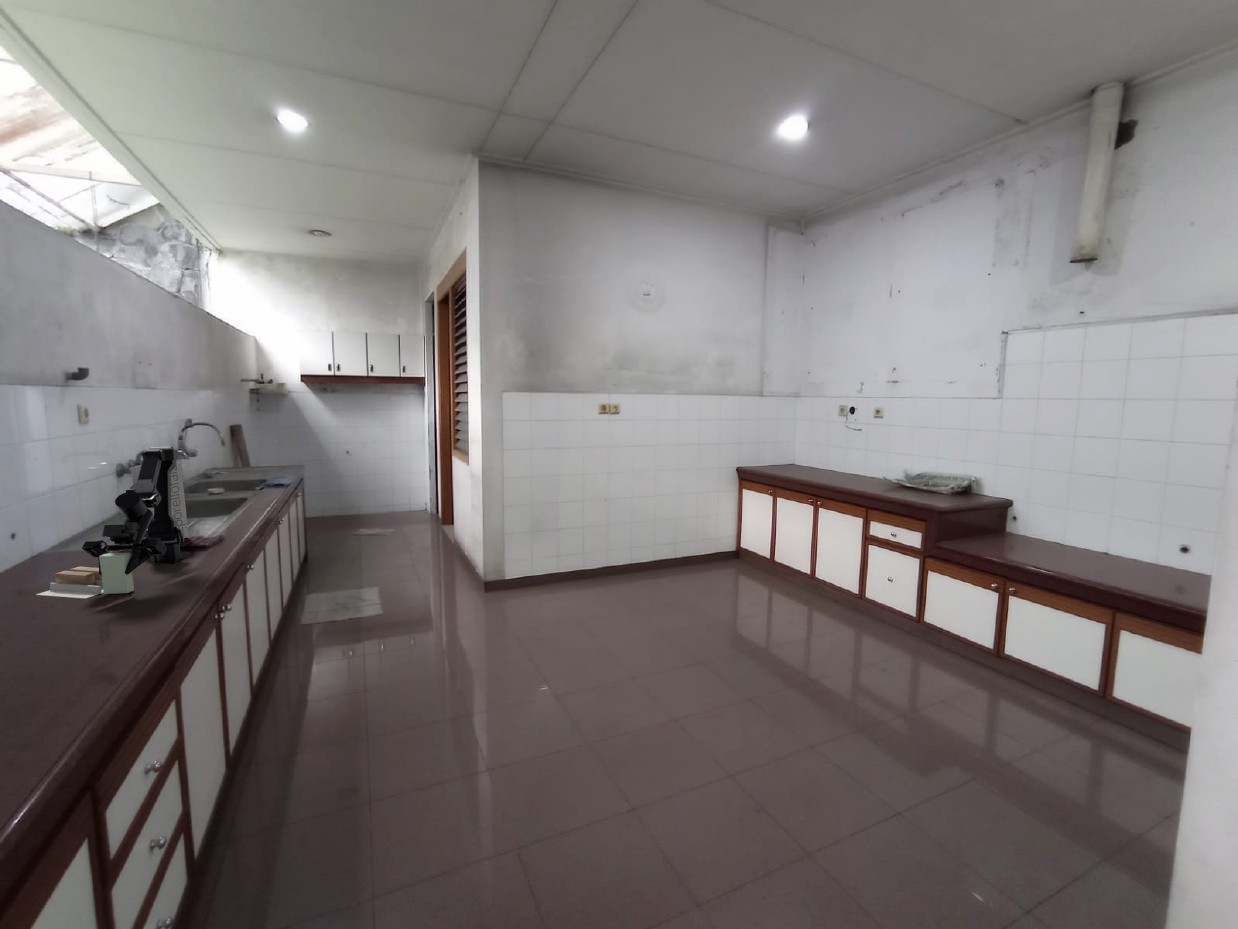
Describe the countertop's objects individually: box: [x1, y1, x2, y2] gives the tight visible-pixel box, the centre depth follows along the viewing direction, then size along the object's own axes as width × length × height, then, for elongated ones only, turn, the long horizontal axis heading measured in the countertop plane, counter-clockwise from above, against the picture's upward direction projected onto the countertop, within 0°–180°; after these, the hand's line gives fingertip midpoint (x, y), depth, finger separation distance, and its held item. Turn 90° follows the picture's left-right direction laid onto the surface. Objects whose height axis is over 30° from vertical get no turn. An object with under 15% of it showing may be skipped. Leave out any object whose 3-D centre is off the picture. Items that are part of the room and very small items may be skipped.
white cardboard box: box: [130, 462, 190, 539], centre depth 209 cm, size 14×6×30 cm, turn 168°
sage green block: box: [99, 552, 135, 595], centre depth 157 cm, size 2×6×11 cm, turn 100°
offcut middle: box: [54, 570, 95, 586], centre depth 162 cm, size 2×10×4 cm, turn 82°
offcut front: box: [69, 566, 102, 580], centre depth 165 cm, size 2×10×4 cm, turn 82°
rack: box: [35, 580, 104, 599], centre depth 162 cm, size 13×16×3 cm
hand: (113, 574), depth 156 cm, fingers closed on sage green block, 6 cm apart
